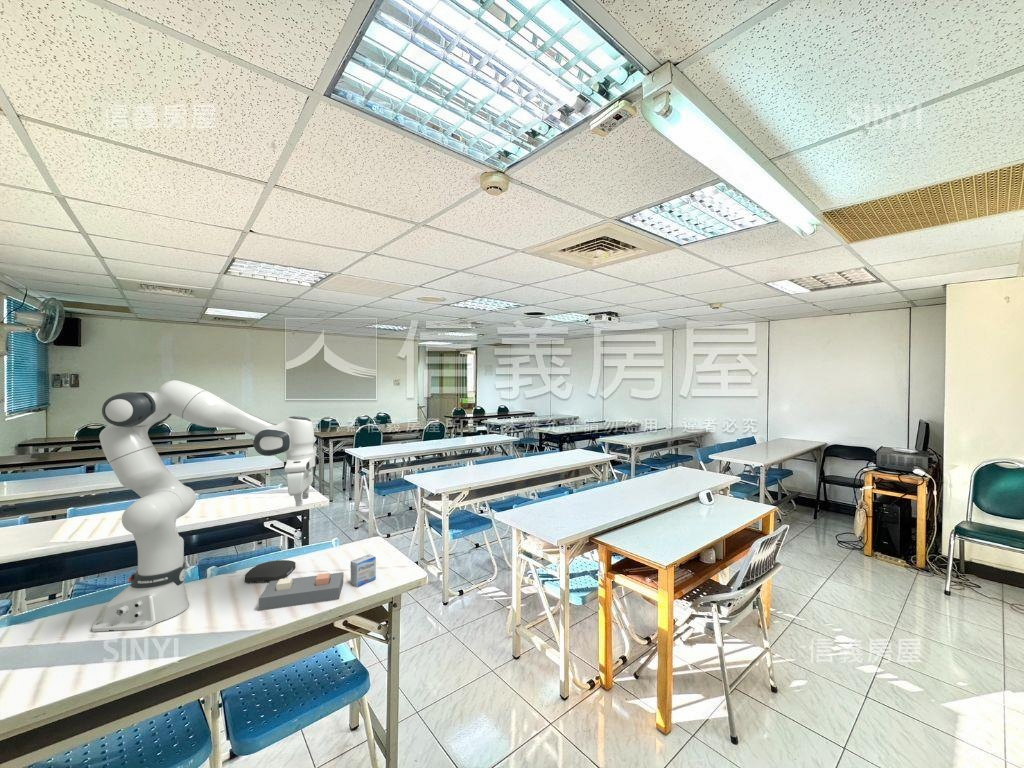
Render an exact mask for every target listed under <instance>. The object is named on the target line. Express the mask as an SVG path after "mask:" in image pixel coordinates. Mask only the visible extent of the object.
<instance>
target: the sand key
mask: <svg viewBox="0 0 1024 768" xmlns="http://www.w3.org/2000/svg"><path fill="white" fill-rule="evenodd" d="M293 578H294V577H286V578H285V579H280V580H279V581H278V583H277V584H276V591H280V590H287V589H291V587H292V585H293Z"/></svg>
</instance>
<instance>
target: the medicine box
mask: <svg viewBox="0 0 1024 768" xmlns="http://www.w3.org/2000/svg"><path fill="white" fill-rule="evenodd" d="M376 559H377V558H376V556H374V555H372V554H370V553H369V554H367V555H364V556H362V557H358V558H356V559H353V560H350V585H352V586H355V587H356V588H360V587H361V586H364V585H366V584H368V583H371V582H372V581H375V580H376V578H377V577H376V576H377V575H376V573H377V562H376V561H377V560H376Z"/></svg>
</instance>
